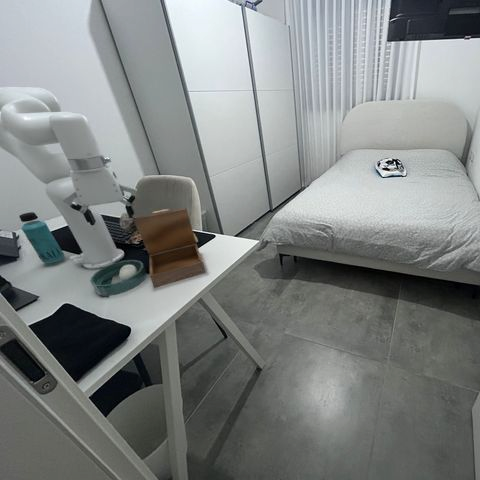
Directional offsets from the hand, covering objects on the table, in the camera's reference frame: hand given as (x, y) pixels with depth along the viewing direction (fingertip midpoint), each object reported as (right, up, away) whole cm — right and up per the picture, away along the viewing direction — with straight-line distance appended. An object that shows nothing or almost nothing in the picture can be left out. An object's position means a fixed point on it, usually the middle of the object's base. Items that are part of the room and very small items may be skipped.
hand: (113, 220), depth 79 cm
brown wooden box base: (+13, -17, +13) cm, 25 cm away
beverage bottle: (-37, -15, +19) cm, 44 cm away
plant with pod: (-17, -6, +34) cm, 38 cm away
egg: (-2, -19, +7) cm, 20 cm away
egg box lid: (+10, -3, +11) cm, 15 cm away
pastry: (+8, -8, +30) cm, 32 cm away
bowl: (-3, -20, +7) cm, 22 cm away
